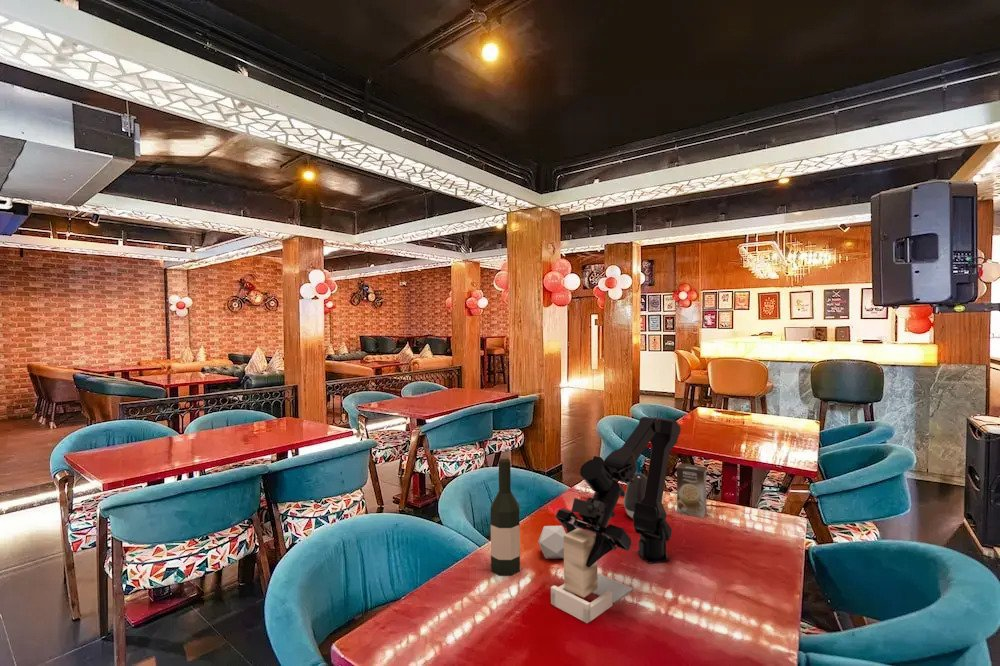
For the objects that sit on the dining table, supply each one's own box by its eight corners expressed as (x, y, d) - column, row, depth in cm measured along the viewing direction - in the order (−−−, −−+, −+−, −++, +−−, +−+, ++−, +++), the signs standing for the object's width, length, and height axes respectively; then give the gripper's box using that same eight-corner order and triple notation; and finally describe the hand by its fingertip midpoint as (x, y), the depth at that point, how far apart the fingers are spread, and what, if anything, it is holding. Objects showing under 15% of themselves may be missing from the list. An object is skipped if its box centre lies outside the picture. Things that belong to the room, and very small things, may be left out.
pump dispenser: (617, 514, 165) (617, 470, 165) (643, 510, 169) (643, 467, 169) (634, 525, 156) (633, 479, 156) (661, 521, 159) (660, 475, 159)
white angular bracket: (576, 588, 118) (576, 572, 118) (612, 605, 110) (612, 588, 110) (551, 604, 111) (550, 587, 111) (587, 623, 104) (587, 605, 104)
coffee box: (676, 513, 166) (675, 467, 166) (679, 507, 171) (679, 462, 171) (704, 518, 161) (703, 471, 161) (707, 512, 166) (706, 466, 166)
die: (561, 569, 129) (578, 534, 132) (532, 550, 130) (550, 517, 133) (557, 566, 137) (573, 533, 140) (530, 548, 138) (547, 517, 141)
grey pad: (599, 574, 124) (599, 573, 124) (633, 589, 117) (633, 588, 117) (579, 587, 118) (579, 585, 118) (614, 603, 111) (614, 602, 111)
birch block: (578, 579, 114) (577, 528, 114) (597, 588, 110) (597, 534, 110) (564, 588, 111) (563, 535, 111) (583, 597, 107) (582, 542, 107)
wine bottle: (525, 564, 130) (524, 455, 130) (513, 578, 123) (512, 463, 123) (498, 558, 134) (497, 452, 134) (485, 572, 126) (483, 459, 126)
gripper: (559, 476, 120) (530, 532, 112) (624, 493, 106) (595, 559, 99) (578, 499, 125) (552, 554, 118) (642, 518, 112) (617, 583, 104)
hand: (577, 562), depth 110 cm, fingers closed on birch block, 5 cm apart
